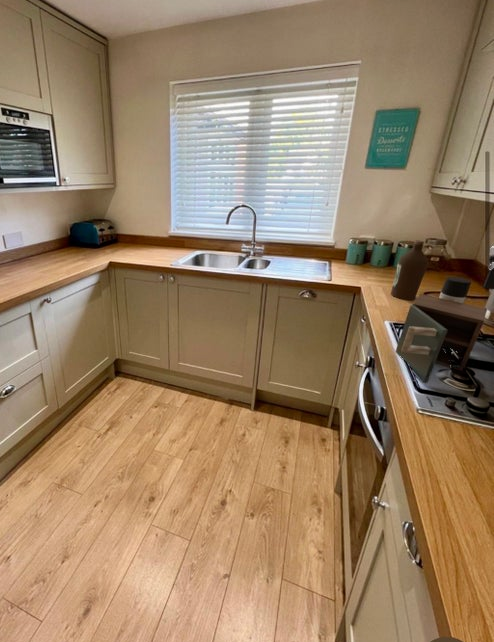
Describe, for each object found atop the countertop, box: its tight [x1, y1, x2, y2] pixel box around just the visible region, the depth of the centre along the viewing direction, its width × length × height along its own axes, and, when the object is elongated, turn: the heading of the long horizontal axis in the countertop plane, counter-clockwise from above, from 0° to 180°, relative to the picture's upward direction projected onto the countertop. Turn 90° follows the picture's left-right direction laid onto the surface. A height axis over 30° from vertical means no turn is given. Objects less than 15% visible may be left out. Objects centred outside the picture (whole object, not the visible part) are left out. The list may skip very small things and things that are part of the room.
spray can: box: [438, 276, 472, 304], centre depth 110 cm, size 7×7×20 cm
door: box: [395, 304, 447, 384], centre depth 92 cm, size 7×16×16 cm, turn 173°
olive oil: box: [390, 239, 429, 301], centre depth 143 cm, size 11×11×25 cm
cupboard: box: [412, 293, 487, 369], centre depth 98 cm, size 12×16×16 cm
